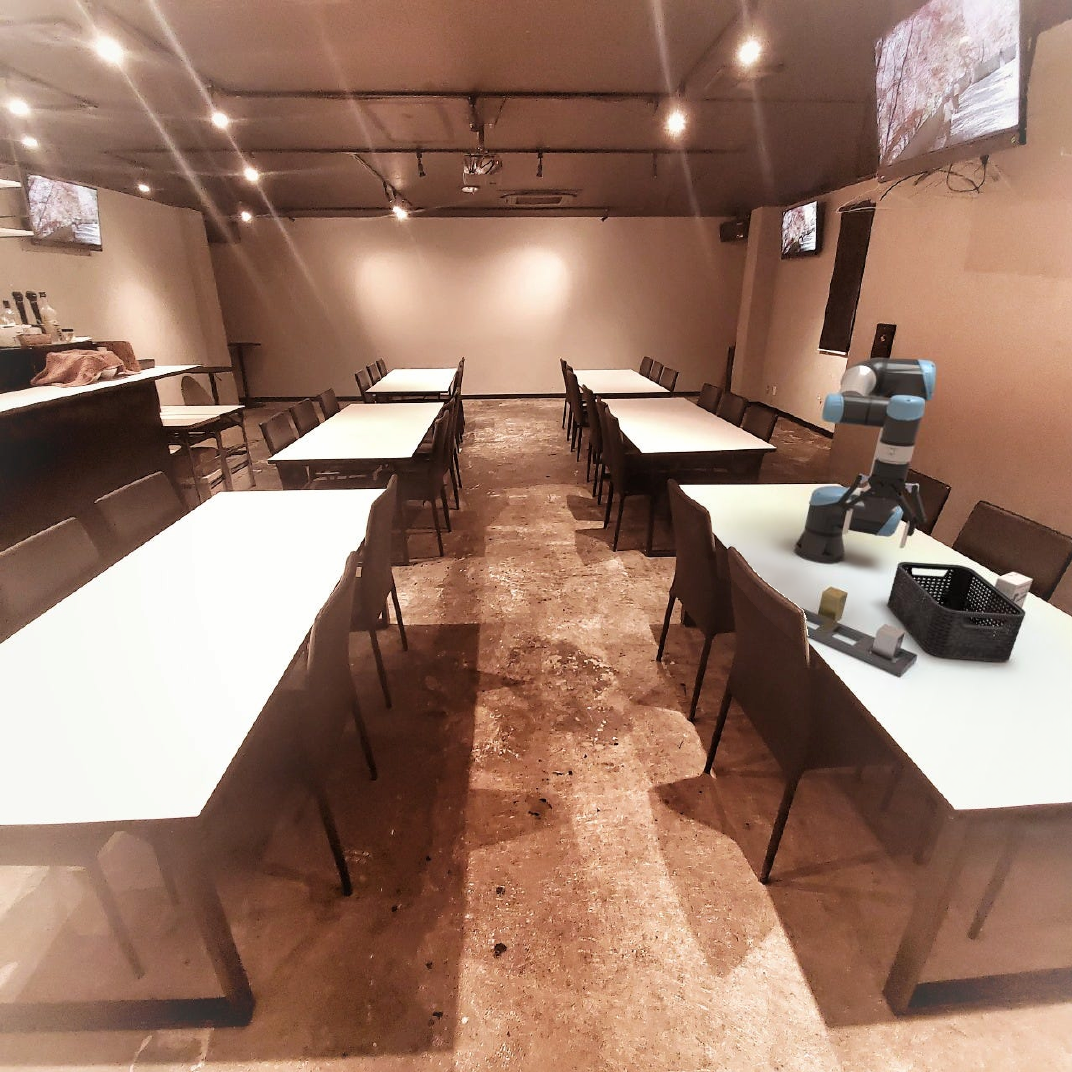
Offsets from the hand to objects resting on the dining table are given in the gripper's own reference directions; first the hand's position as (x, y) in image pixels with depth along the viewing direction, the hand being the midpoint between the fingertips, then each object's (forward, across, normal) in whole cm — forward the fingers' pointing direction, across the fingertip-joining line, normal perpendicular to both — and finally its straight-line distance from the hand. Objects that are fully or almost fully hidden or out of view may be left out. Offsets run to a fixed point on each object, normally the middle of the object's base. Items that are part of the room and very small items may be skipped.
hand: (872, 539), depth 153 cm
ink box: (+23, +30, +28) cm, 47 cm away
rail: (+23, +2, -16) cm, 28 cm away
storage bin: (+23, +20, +8) cm, 32 cm away
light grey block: (+23, +11, -17) cm, 31 cm away
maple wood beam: (+23, -5, -6) cm, 24 cm away
